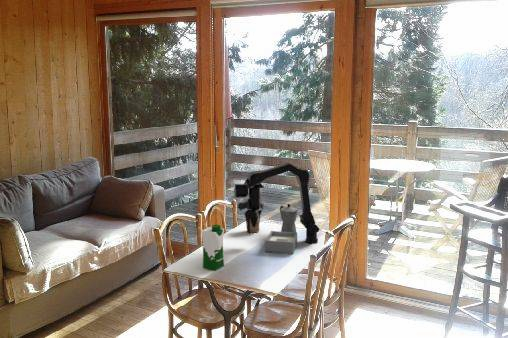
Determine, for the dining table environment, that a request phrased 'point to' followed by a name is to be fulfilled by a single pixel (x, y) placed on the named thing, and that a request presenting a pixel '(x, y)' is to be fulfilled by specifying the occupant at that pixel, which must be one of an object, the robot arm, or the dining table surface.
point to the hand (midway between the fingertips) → (254, 225)
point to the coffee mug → (249, 224)
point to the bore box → (281, 242)
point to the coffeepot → (288, 218)
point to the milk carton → (213, 247)
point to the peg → (254, 229)
